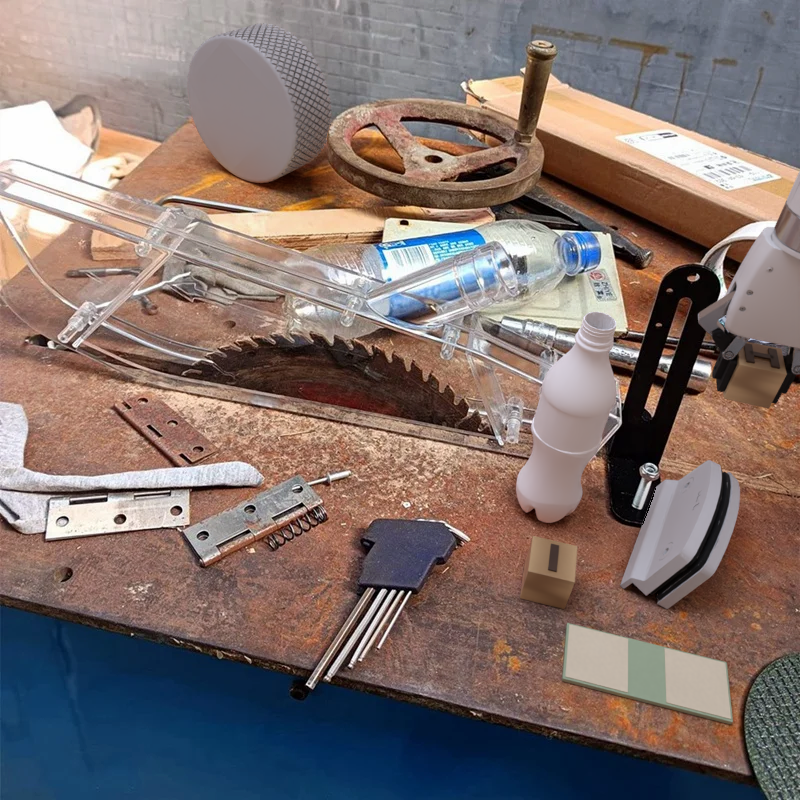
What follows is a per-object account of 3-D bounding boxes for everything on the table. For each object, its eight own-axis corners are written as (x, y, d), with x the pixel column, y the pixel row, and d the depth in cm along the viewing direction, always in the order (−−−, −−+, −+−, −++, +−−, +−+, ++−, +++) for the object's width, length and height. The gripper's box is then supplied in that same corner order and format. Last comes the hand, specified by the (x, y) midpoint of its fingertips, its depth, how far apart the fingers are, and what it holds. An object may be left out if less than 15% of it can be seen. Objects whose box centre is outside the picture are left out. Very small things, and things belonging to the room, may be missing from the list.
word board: (725, 664, 71) (727, 661, 71) (731, 724, 67) (733, 721, 66) (566, 625, 73) (567, 621, 73) (561, 681, 69) (563, 677, 68)
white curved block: (656, 484, 88) (714, 437, 81) (690, 509, 88) (751, 463, 81) (618, 588, 77) (682, 543, 70) (657, 616, 76) (725, 574, 69)
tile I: (567, 573, 78) (578, 544, 75) (564, 609, 74) (575, 581, 71) (524, 563, 78) (533, 533, 75) (519, 598, 75) (528, 569, 72)
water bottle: (570, 483, 88) (631, 302, 71) (580, 531, 82) (648, 347, 66) (509, 478, 87) (555, 295, 71) (515, 527, 82) (566, 341, 66)
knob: (330, 183, 142) (333, 41, 126) (296, 201, 135) (294, 54, 119) (229, 145, 151) (219, 9, 135) (192, 161, 144) (178, 19, 128)
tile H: (764, 382, 80) (782, 347, 77) (768, 408, 77) (787, 372, 74) (721, 373, 81) (737, 337, 78) (723, 398, 78) (740, 362, 75)
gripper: (912, 231, 69) (823, 386, 80) (721, 196, 71) (662, 351, 83) (934, 271, 63) (836, 431, 75) (726, 232, 66) (662, 393, 77)
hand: (745, 388), depth 79 cm, fingers closed on tile H, 4 cm apart
